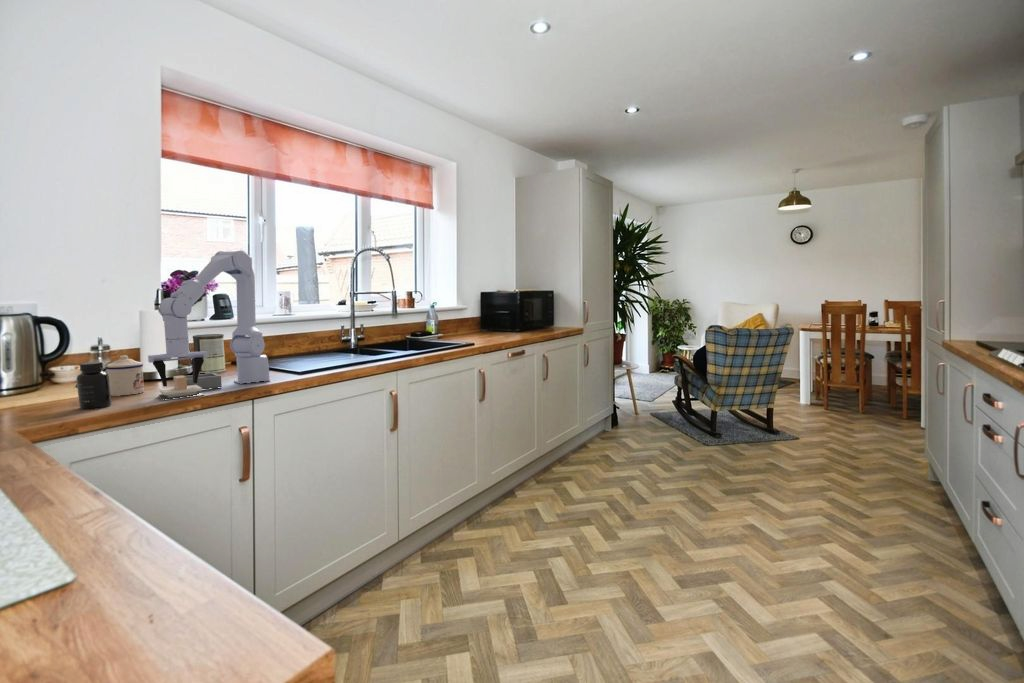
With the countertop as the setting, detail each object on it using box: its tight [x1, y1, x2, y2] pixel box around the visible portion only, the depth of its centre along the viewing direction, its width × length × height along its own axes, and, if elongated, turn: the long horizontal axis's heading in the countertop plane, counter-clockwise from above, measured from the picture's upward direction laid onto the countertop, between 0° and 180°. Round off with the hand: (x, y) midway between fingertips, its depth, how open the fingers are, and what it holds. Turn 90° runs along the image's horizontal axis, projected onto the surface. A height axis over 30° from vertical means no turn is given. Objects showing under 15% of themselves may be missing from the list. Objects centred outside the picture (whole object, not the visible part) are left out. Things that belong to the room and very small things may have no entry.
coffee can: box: [192, 333, 226, 374], centre depth 201 cm, size 10×10×14 cm
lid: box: [158, 374, 203, 397], centre depth 155 cm, size 10×8×5 cm
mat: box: [158, 391, 202, 401], centre depth 155 cm, size 10×9×1 cm
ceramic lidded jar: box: [105, 354, 145, 397], centre depth 160 cm, size 12×9×12 cm
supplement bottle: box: [75, 361, 112, 410], centre depth 141 cm, size 7×7×12 cm
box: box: [184, 373, 223, 389], centre depth 166 cm, size 10×8×4 cm
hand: (180, 384), depth 155 cm, fingers open, 7 cm apart
